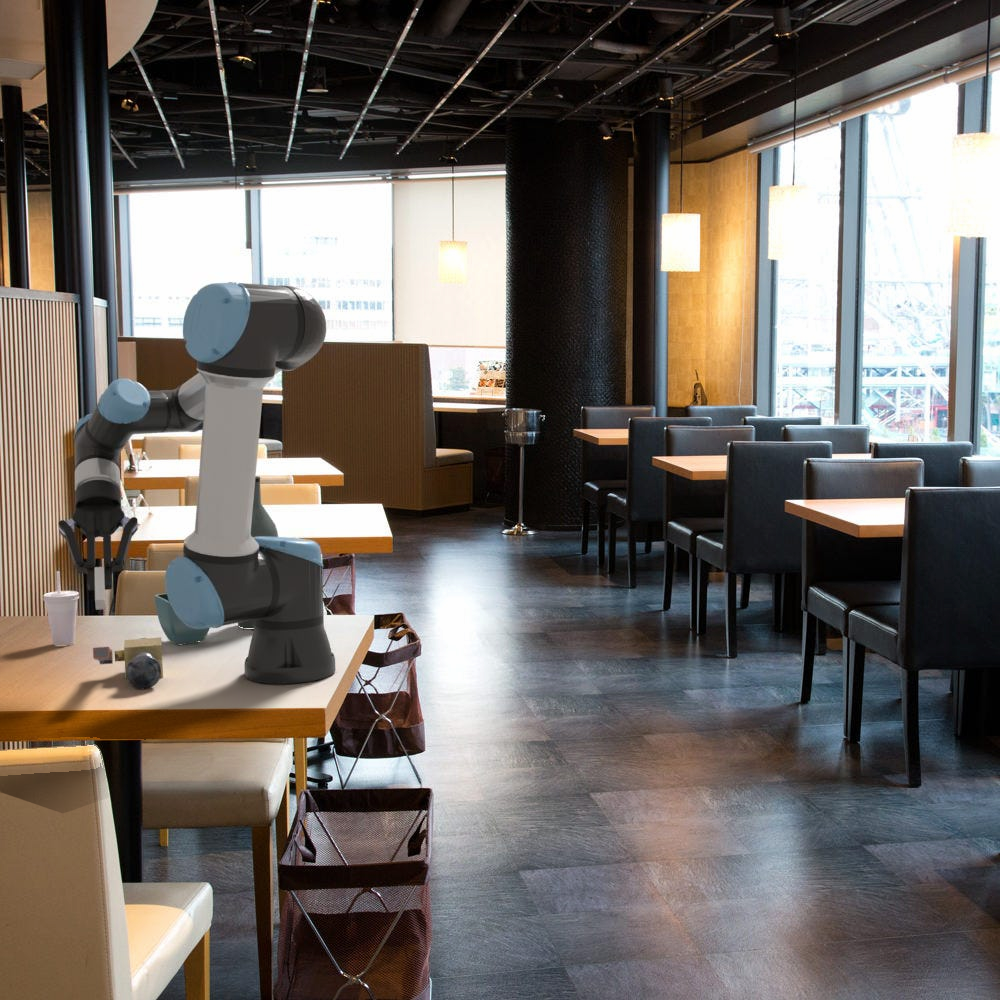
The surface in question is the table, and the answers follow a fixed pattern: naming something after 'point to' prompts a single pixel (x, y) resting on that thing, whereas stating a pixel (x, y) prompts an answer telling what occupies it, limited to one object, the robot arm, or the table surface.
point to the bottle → (259, 528)
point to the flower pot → (176, 623)
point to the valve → (142, 661)
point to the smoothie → (62, 614)
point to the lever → (103, 655)
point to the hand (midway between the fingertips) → (100, 604)
